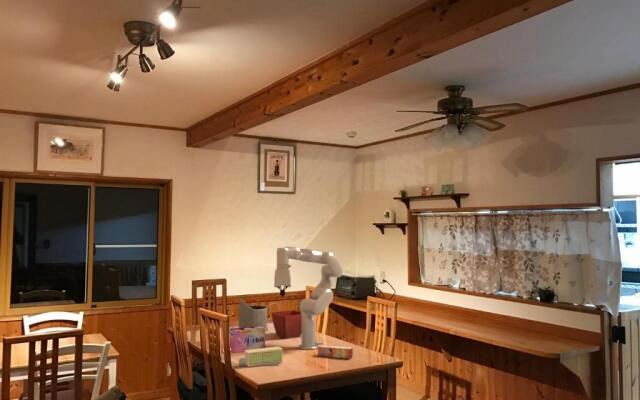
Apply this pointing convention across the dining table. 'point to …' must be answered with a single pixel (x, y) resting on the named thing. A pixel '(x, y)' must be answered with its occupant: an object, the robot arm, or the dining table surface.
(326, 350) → the snack package
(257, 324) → the pitcher
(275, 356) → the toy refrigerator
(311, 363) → the dining table surface
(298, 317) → the plant pot
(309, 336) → the robot arm
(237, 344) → the gum box
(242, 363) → the mat
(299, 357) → the dining table surface
